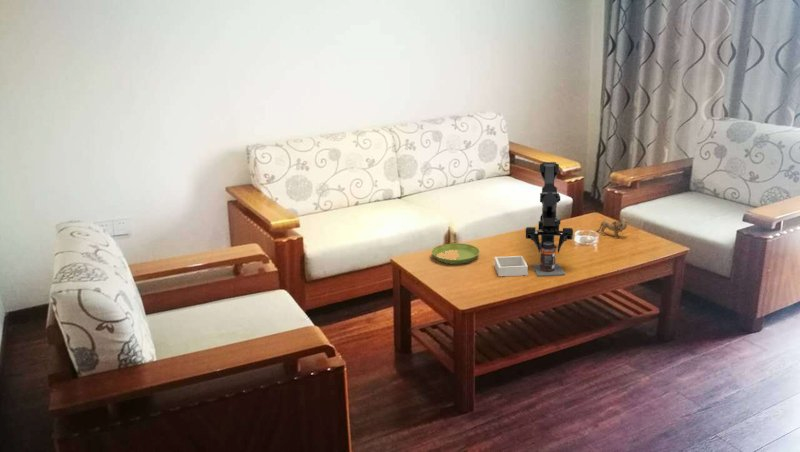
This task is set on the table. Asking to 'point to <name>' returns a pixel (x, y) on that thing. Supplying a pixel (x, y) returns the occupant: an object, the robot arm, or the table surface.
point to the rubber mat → (555, 272)
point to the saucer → (464, 251)
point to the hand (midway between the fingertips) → (548, 252)
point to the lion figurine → (614, 226)
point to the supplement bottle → (547, 257)
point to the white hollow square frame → (511, 266)
